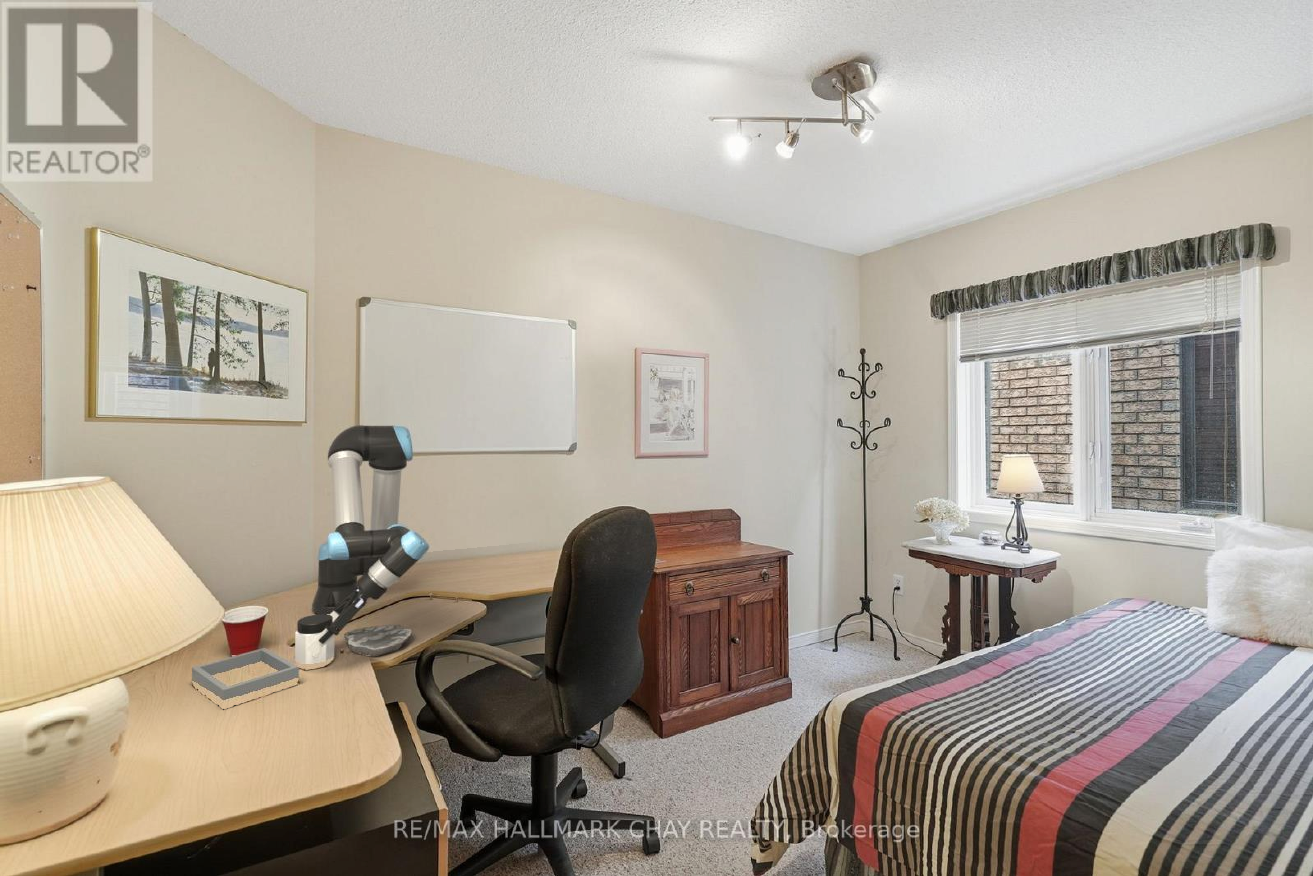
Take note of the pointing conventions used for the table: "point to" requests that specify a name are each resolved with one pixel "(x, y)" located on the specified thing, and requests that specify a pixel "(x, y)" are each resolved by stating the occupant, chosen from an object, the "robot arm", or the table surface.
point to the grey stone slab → (377, 639)
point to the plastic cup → (244, 628)
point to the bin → (206, 671)
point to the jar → (307, 633)
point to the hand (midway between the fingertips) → (314, 641)
